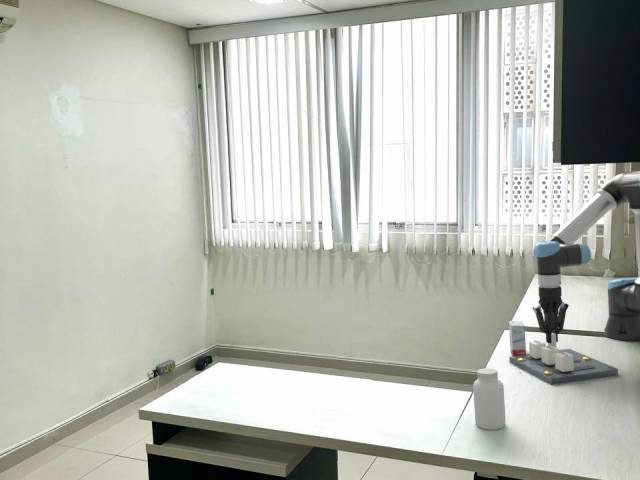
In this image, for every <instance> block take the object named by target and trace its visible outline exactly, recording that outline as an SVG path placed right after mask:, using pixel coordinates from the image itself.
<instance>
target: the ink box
mask: <svg viewBox="0 0 640 480" xmlns="http://www.w3.org/2000/svg"><path fill="white" fill-rule="evenodd" d="M508 326H509V327H508V328H509V331H508V332H509V346H510V347H509V348H510V349H509V352H510V353H511V355H512V357H513V356H520V355H527V347H526V345H527V343H526V328H525V324H524V322H523V321H522V320H508Z"/></svg>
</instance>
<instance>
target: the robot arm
mask: <svg viewBox="0 0 640 480" xmlns="http://www.w3.org/2000/svg"><path fill="white" fill-rule="evenodd" d="M623 204H628V205H629V210H630V211H631V212H632V213H633V214H634V226H635V241H636V258H637V273H638V276H637V277H621V278H614V279H610V280H609V281H608V285H607V303H608V304H607V305H608V318H607V321H606V324H605V327H604V329H603V330H604V331H603V332H604V336H605V337H607V338H608V339H611V340H617V341H618V340H619V341H640V170H639V171H624V172H621V173H619V174H616V175H615V176H613V177H611V178H610V179H608V180H607V181H606V182H605V183H603V184H601V186H600V187H599V188H598V189H597V190H596V191H594V196H592V198H591V199H590V200H589V201H588V202H587V203H585V204H584V205H583V206H582V208H580V209H579V210H578V211H577V212H576V213H575V214H574V215H573V216H572V217H571V218H569V219H568V220H567V222H565V223H564V224H563V225H562V226H561V227H560V228H559V229H558V230H557V231H555V233H554V234H552V235H551V236H550V237H549V238H548V239H547V240H546V241H545V240H543V241H539V242H537V243H536V244H535V245H534V246H533V249H532V250H533V251H532V252H533V256H534V258H535V259H536V265H537V280H538V284H537V285H538V297H539V300H538V304H537V305H536V306H533V307H532V310H533V311H534V313H535V316H536V320H537V323H538V324H537V325H538V328H539V331H540V332H541V333H543V334H545V341H546V342H545V343H547V346H553V347H555V348H557V343H558V342H559V337H558V336H559V334H560V332H563V330H564V326H565V320H566V313H567V310H568V308H569V307H570V305H569V304H568V303H565V302H563V299H562V296H563V295H562V294H563V293H562V287H561V285H562V273H561V272H562V271H561V269H562V268H568V267H577V266H579V267H580V266H583V265H587V264H588V263H589V262H590V260H591V258H592V251H591V249H590V248H589V246H588V245H587V244H585V243H576V242H577V241H578V240H579V239H580V238H581V237H583V235H584V234H586V233H587V232H588V231H589V230H590V229H591V228H592V227H593V226H595V224H596V223H598V222H599V220H601V218H603V217H604V216H605V215H606V214H607V213H608V212H609V211H614V210H615V209H616V208H617V207H619V206H620V205H623Z"/></svg>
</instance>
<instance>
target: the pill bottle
mask: <svg viewBox="0 0 640 480" xmlns="http://www.w3.org/2000/svg"><path fill="white" fill-rule="evenodd" d="M476 375H477V379H476V380H475V381H474V382H473V385H472V388H473V390H472V391H473V402H474V403H473V405H474V421H475V422H474V423H475V425H476V426H477V427H478V428H480V429H484V430H489V431H491V430H492V431H493V430H494V431H495V430H500V429H503V428H504V427H505V426H506V406H505V404H506V403H505V390H504V388H505V387H504V383H503V382H502V381H501V380H500V379H499V377H498V376H499V373H498V370H497V369H495V368H492V367H491V368H490V367H486V368H485V367H484V368H480V369H478V370H477V371H476Z"/></svg>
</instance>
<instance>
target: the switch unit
mask: <svg viewBox="0 0 640 480" xmlns="http://www.w3.org/2000/svg"><path fill="white" fill-rule="evenodd" d="M560 352H567V353H569V354H571V355H573V362H574V370H573V371H566V372H562V371H560V370H558V369H556V368H555V364H553V365H547V364H545V363H543V362H542V358H537V359H535V358H533V357H531V356H530V354H527V353H526V355H520V356H513V355H512V356H509V359H508V361H509V364H512V365H514V366H516V367H517V368H518V369H521V370H523V371H525V372H527V373H529V374H531V375H532V376H535V378H536V377H537V378H538V379H540V380H541V381H543V382H544V383H545V382H546V383H547V384H549V385H552V386H553V385H559V384H566V383H567V384H568V383H573V382H580V381H586V380H587V381H588V380H594V379H600V378H607V377H613V376H619V368H617V367H616V366H615V367H614V366H612V365H609V364H607V363H605V362H603V361H600V360H597V359H596V358H592V357H591V356H588V355H586V354H583V353H580V352H578V351H576V350H573V349H570V348H565V349H559V353H560Z"/></svg>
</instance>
